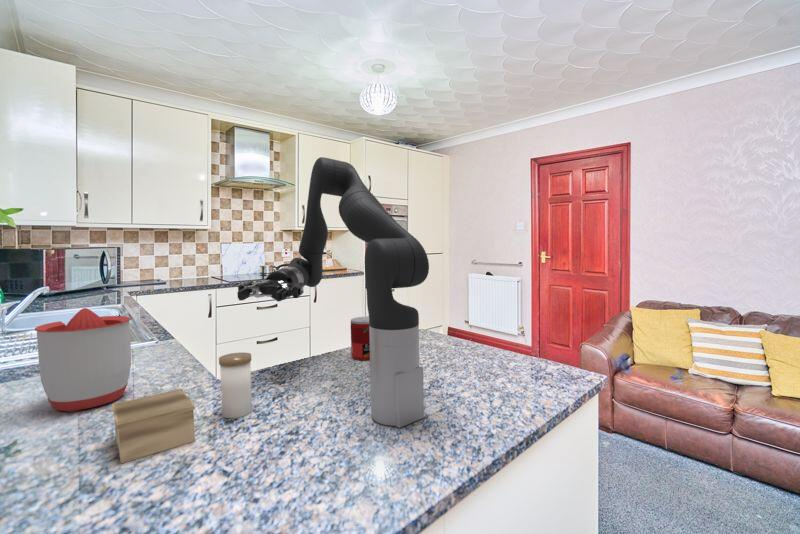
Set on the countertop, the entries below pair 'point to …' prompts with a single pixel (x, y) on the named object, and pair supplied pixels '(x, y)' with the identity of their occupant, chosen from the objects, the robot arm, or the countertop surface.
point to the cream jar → (236, 384)
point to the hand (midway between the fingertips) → (258, 296)
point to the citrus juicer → (84, 360)
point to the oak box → (153, 424)
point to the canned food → (360, 338)
